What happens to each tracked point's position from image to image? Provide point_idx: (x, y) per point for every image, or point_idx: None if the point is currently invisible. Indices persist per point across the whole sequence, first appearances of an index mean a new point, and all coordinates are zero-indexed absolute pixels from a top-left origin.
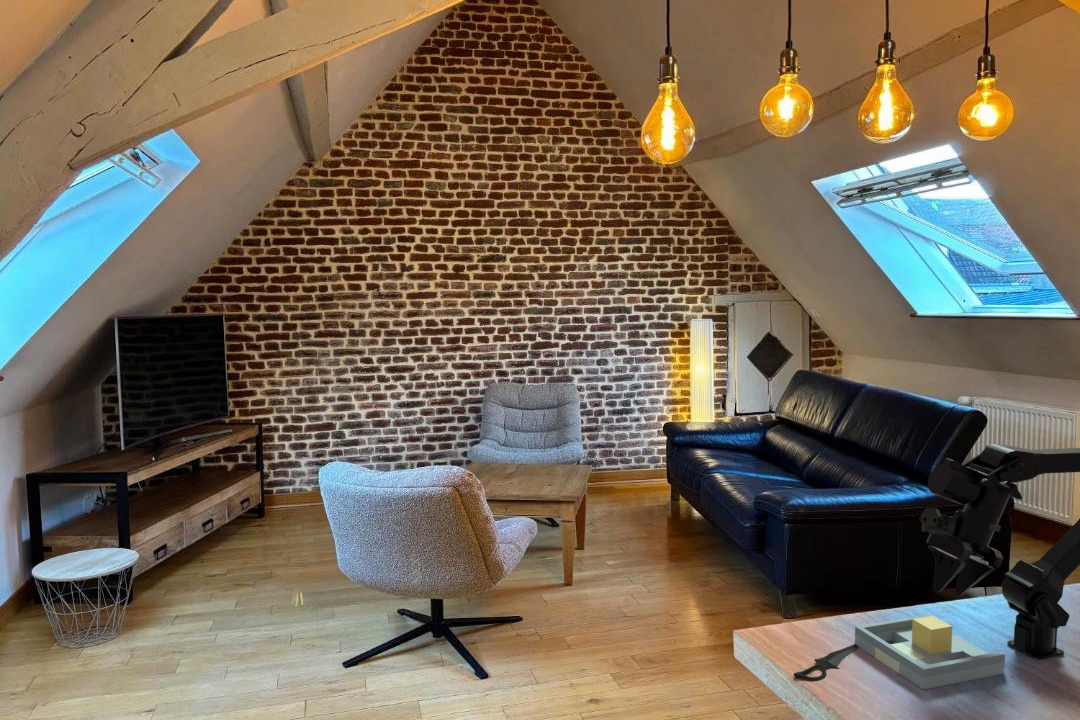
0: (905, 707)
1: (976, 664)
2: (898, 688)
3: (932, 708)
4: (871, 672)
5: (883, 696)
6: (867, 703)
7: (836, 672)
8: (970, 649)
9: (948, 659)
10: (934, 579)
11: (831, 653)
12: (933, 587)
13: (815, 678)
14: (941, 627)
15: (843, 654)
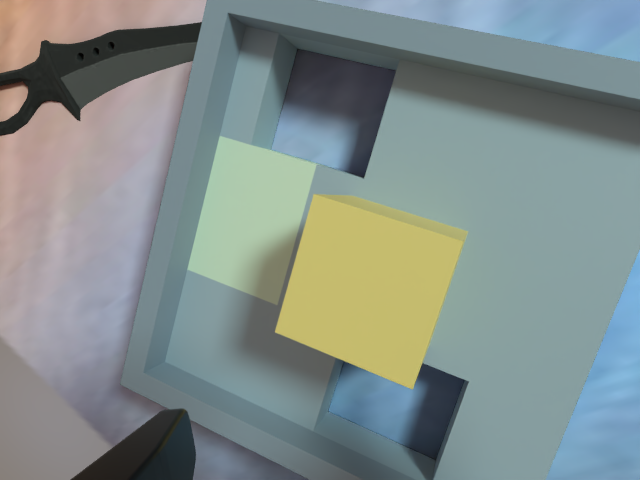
0: (58, 371)
1: None
2: (121, 305)
3: (106, 424)
4: (135, 195)
5: (57, 301)
6: (3, 293)
7: (56, 130)
8: (518, 399)
9: None
10: (90, 472)
11: (116, 35)
12: (150, 421)
13: None
14: (344, 354)
15: (150, 58)
